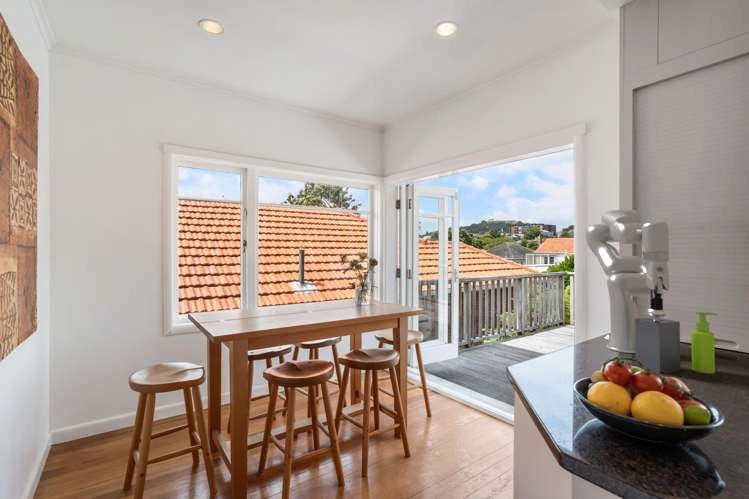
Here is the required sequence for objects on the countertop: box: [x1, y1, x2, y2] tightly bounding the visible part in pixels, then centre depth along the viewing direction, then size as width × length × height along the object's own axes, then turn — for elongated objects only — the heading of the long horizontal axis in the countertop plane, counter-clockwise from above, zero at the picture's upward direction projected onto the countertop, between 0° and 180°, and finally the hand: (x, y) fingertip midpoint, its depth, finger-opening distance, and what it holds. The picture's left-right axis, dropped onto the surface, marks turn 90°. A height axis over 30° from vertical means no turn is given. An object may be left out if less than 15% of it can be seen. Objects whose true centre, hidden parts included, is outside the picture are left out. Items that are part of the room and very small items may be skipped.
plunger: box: [646, 307, 667, 321], centre depth 132 cm, size 6×6×19 cm
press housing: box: [634, 316, 681, 373], centre depth 132 cm, size 9×9×17 cm
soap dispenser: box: [691, 311, 718, 374], centre depth 128 cm, size 6×7×20 cm
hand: (656, 309), depth 131 cm, fingers closed
